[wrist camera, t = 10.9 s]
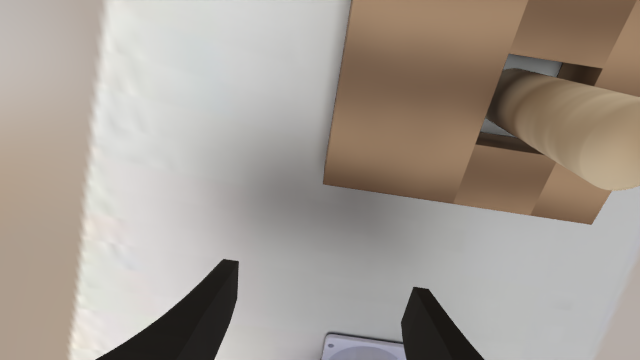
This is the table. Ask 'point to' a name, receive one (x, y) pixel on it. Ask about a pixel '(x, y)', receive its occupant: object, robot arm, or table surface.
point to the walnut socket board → (468, 98)
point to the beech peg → (572, 125)
